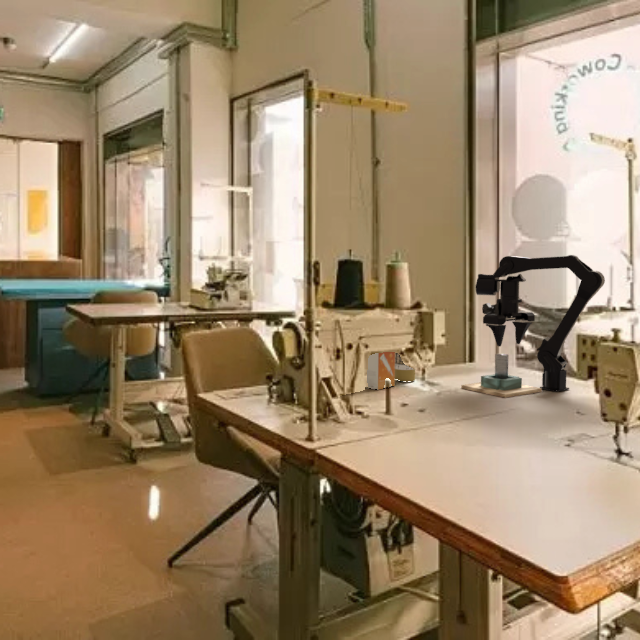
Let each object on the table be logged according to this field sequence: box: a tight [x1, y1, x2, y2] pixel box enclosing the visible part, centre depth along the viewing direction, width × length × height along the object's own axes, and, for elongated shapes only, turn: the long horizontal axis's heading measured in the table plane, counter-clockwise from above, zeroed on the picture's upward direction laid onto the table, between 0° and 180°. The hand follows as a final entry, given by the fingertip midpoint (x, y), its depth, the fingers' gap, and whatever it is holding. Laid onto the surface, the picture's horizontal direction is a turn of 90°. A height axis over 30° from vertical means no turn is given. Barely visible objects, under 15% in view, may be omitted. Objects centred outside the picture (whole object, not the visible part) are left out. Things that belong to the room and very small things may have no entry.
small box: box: [367, 352, 396, 391], centre depth 235 cm, size 8×6×13 cm
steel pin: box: [494, 353, 509, 379], centre depth 230 cm, size 4×4×10 cm
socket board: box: [461, 373, 543, 399], centre depth 230 cm, size 18×16×4 cm
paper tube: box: [395, 353, 416, 383], centre depth 245 cm, size 7×7×25 cm
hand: (508, 345), depth 236 cm, fingers open, 9 cm apart
